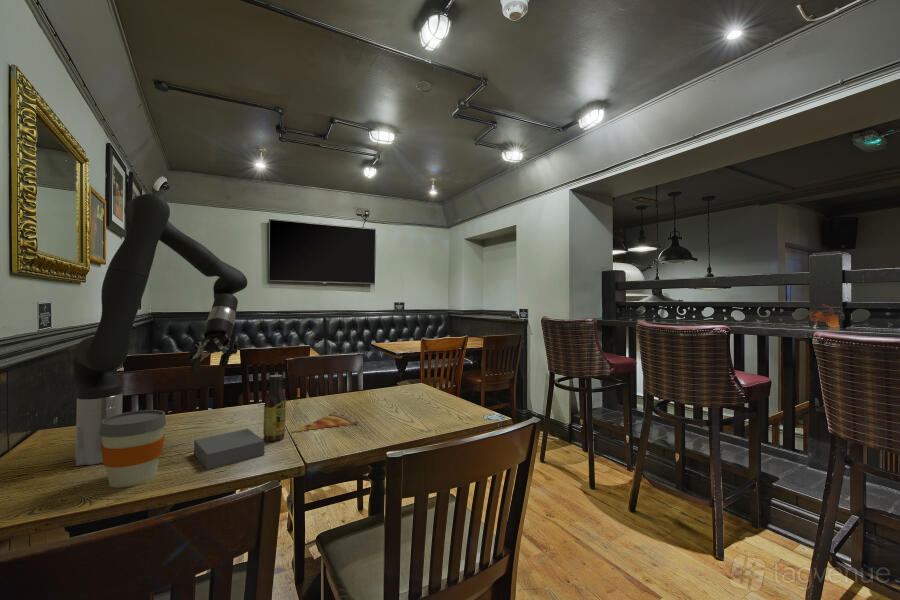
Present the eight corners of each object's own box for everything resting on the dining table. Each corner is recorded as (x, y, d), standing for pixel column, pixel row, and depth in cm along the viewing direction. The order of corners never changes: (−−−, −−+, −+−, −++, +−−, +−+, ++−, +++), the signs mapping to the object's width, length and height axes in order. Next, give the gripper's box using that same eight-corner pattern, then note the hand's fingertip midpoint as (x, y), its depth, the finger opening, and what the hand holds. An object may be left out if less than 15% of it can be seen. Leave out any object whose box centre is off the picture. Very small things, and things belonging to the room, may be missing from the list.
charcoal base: (207, 470, 99) (207, 454, 99) (193, 454, 108) (194, 440, 109) (264, 454, 109) (264, 440, 109) (247, 441, 118) (247, 428, 118)
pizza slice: (288, 420, 141) (288, 415, 141) (350, 414, 150) (350, 408, 150) (290, 434, 127) (290, 428, 127) (358, 426, 136) (358, 420, 136)
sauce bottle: (279, 442, 118) (280, 378, 118) (259, 442, 118) (260, 377, 118) (288, 435, 125) (289, 373, 125) (269, 434, 125) (270, 373, 125)
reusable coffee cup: (171, 478, 94) (172, 416, 94) (102, 497, 85) (103, 429, 85) (158, 463, 102) (159, 406, 102) (95, 478, 93) (96, 417, 93)
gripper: (191, 321, 121) (176, 368, 112) (234, 313, 120) (223, 359, 111) (206, 333, 127) (194, 378, 118) (248, 325, 127) (238, 370, 117)
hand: (208, 369), depth 114 cm, fingers open, 8 cm apart
